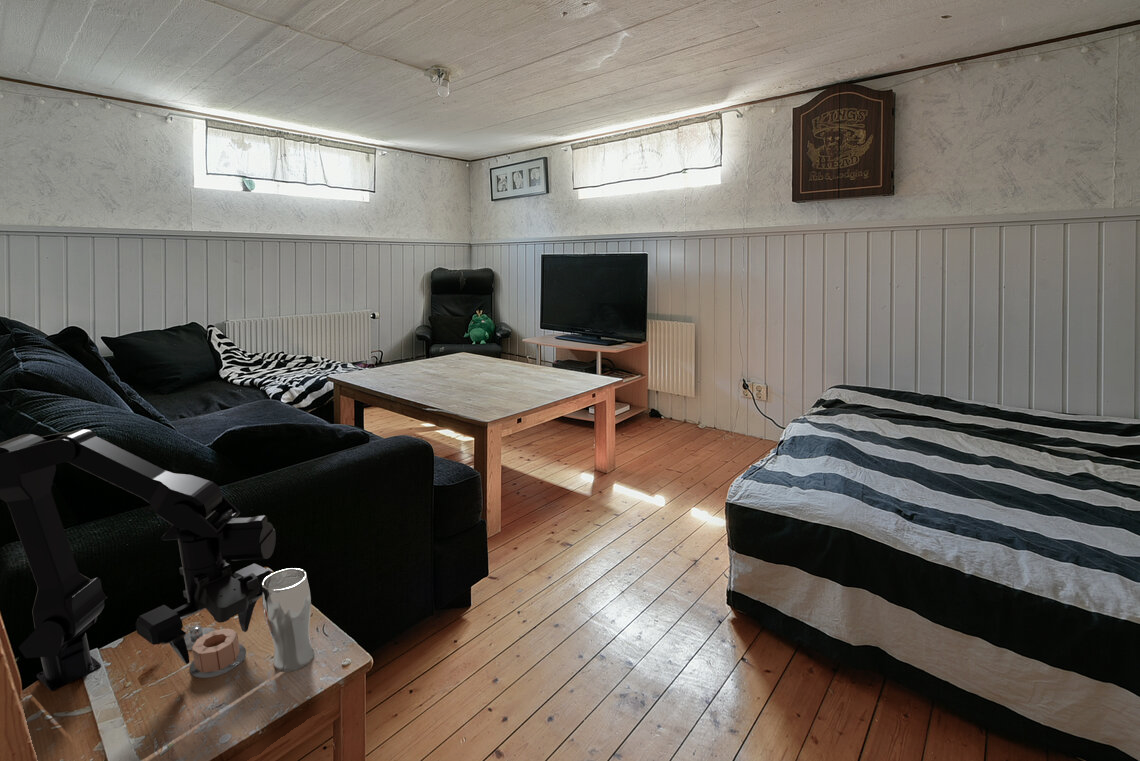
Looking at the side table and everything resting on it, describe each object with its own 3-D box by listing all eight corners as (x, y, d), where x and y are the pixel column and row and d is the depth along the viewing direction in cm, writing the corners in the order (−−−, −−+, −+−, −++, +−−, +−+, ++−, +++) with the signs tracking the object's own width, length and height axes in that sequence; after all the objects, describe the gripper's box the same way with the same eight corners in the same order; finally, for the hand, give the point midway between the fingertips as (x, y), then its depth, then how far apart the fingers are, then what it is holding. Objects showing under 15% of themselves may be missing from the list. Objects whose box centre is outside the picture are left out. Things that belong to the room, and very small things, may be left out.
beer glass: (299, 677, 91) (289, 593, 88) (261, 671, 93) (249, 588, 90) (325, 648, 98) (317, 569, 95) (289, 643, 99) (280, 565, 96)
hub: (180, 668, 94) (177, 652, 93) (230, 640, 100) (228, 625, 100) (206, 686, 89) (203, 670, 89) (256, 656, 96) (254, 641, 95)
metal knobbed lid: (170, 644, 99) (168, 631, 99) (206, 625, 104) (204, 613, 104) (187, 656, 96) (185, 644, 96) (224, 636, 101) (222, 624, 101)
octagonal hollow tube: (208, 677, 91) (205, 657, 90) (189, 663, 94) (186, 644, 93) (246, 655, 96) (243, 636, 95) (226, 642, 99) (223, 624, 98)
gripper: (162, 606, 79) (179, 702, 82) (288, 548, 94) (298, 631, 98) (126, 582, 85) (143, 673, 88) (250, 531, 100) (261, 610, 103)
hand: (216, 646), depth 94 cm, fingers open, 9 cm apart
